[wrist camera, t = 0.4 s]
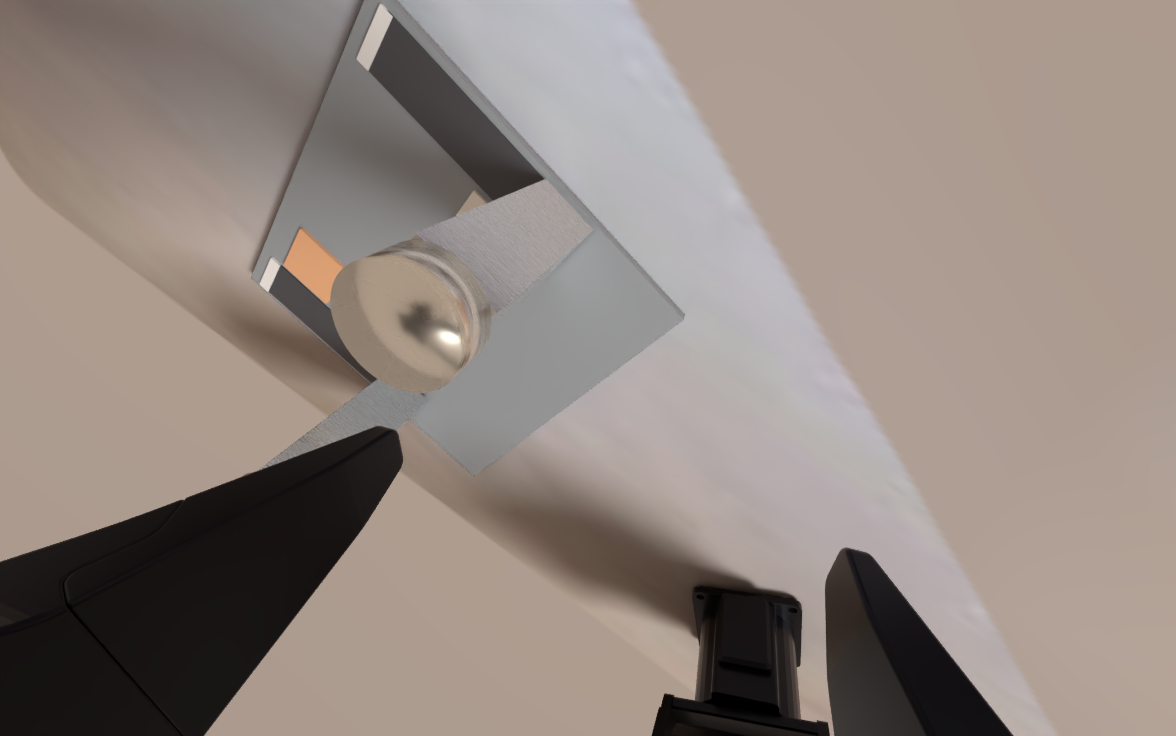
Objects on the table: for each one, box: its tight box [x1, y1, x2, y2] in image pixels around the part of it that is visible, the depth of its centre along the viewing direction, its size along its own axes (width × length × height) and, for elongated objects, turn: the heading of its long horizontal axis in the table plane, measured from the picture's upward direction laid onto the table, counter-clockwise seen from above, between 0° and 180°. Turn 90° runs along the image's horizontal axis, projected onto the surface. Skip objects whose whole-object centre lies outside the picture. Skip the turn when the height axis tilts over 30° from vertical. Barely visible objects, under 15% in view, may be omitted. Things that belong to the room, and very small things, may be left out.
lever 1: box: [242, 379, 428, 477], centre depth 24 cm, size 4×4×11 cm
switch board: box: [251, 0, 685, 476], centre depth 24 cm, size 18×18×1 cm
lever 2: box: [330, 179, 593, 393], centre depth 15 cm, size 4×4×11 cm
